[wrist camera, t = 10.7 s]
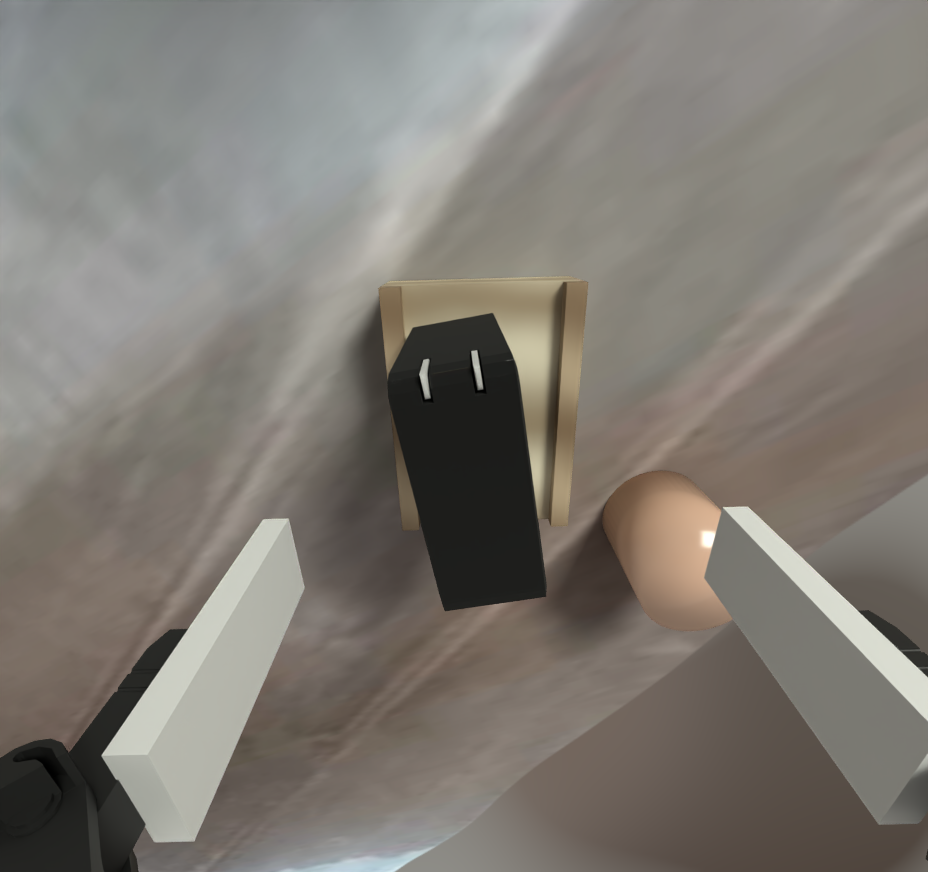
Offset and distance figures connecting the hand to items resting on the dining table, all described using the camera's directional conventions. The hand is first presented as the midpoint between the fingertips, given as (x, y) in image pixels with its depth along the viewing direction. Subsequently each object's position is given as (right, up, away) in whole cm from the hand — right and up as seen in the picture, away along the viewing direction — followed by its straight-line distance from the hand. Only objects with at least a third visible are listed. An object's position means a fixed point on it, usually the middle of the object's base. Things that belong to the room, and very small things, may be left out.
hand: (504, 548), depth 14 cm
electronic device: (-1, +5, +11) cm, 12 cm away
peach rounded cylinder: (+12, -2, +17) cm, 21 cm away
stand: (0, +6, +14) cm, 15 cm away
